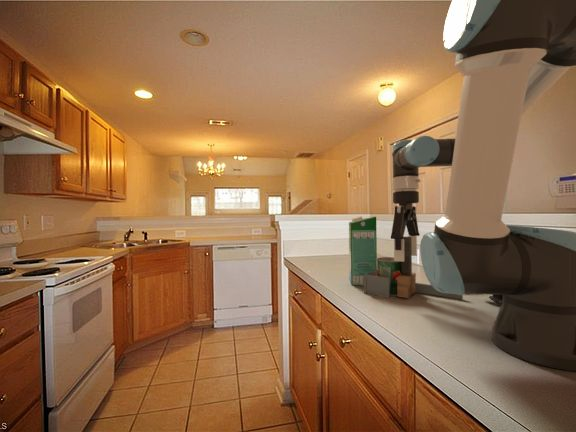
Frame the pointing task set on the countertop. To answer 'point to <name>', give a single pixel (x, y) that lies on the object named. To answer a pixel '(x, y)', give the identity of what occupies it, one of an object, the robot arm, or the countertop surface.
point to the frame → (382, 287)
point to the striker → (406, 272)
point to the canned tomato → (389, 271)
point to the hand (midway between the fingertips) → (406, 258)
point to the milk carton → (362, 248)
